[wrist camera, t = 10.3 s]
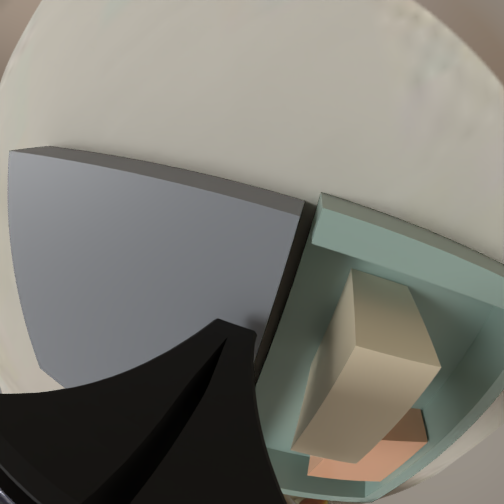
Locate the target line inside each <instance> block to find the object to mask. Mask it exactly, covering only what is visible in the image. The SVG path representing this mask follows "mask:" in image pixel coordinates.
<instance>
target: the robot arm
mask: <svg viewBox="0 0 504 504" xmlns="http://www.w3.org/2000/svg"><path fill="white" fill-rule="evenodd" d="M256 337H257V334H256V332H255V331H254V330H251V329H248V328H245V327H242V326H239V325H236V324H233V323H230V322H227V321H224V320H221V319H219V318H217V319H215V320H213V321H212V322H211V323H209V324H208V325H207V326H205V327H204V328H202V329H201V330H200V331H198V332H197V333H195V334H194V335H192V336H191V337H189V338H188V339H186V340H185V341H183V342H182V343H180V344H178V345H177V346H175V347H173V348H172V349H170V350H168V351H167V352H165V353H163V354H161V355H159V356H157V357H155V358H153V359H151V360H150V361H148V362H146V363H144V364H141V365H139V366H137V367H135V368H132V369H130V370H128V371H125V372H122V373H120V374H117V375H115V376H112V377H109V378H105V379H102V380H99V381H96V382H93V383H89V384H85V385H81V386H77V387H71V388H66V389H60V390H54V391H48V392H40V393H22V394H0V504H287V502H286V500H285V498H284V495H283V493H282V491H281V488H280V486H279V483H278V480H277V478H276V475H275V472H274V469H273V466H272V464H271V461H270V458H269V455H268V451H267V448H266V444H265V440H264V436H263V432H262V428H261V423H260V418H259V413H258V407H257V399H256V391H255V379H254V348H255V341H256Z"/></svg>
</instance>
